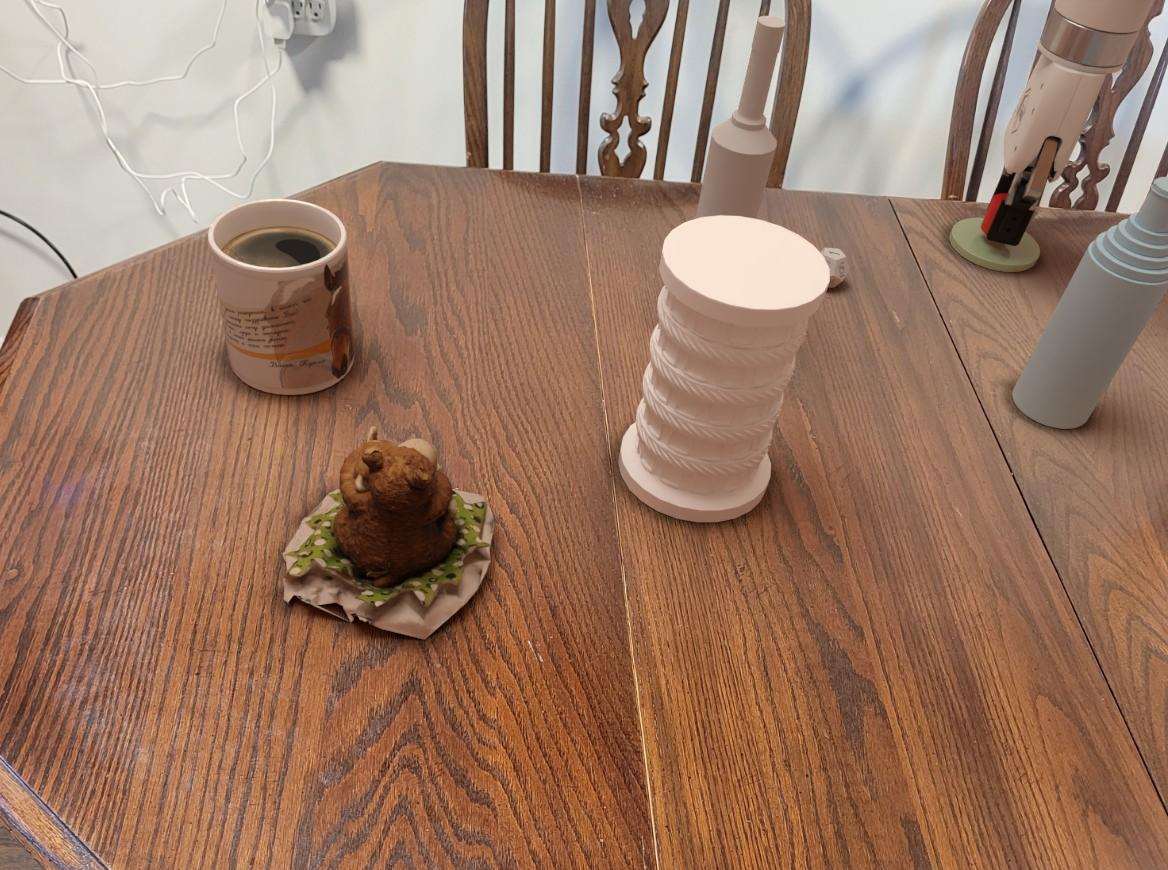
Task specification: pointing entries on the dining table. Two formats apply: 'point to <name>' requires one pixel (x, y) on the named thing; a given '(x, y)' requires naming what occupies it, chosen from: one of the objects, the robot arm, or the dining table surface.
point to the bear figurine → (392, 541)
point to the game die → (836, 265)
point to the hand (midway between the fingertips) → (1002, 227)
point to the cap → (992, 211)
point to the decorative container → (720, 364)
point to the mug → (284, 294)
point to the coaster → (992, 248)
